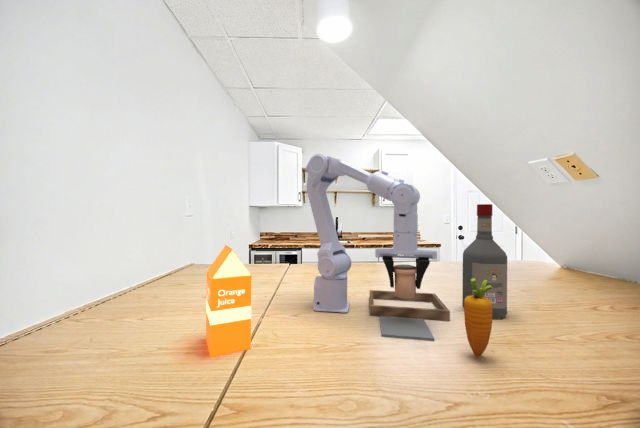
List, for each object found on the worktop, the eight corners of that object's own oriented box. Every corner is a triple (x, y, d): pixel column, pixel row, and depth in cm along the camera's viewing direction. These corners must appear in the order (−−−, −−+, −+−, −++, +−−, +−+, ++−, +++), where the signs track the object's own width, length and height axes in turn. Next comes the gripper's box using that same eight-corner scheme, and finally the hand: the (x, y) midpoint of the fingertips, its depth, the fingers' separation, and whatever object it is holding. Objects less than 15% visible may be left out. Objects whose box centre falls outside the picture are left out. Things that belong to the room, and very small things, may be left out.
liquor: (511, 319, 71) (512, 204, 71) (475, 319, 71) (476, 203, 71) (491, 307, 80) (491, 205, 80) (459, 307, 80) (459, 205, 81)
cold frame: (369, 315, 73) (369, 305, 73) (369, 297, 89) (369, 289, 89) (449, 321, 70) (449, 311, 70) (434, 301, 86) (434, 293, 86)
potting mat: (381, 336, 61) (381, 334, 61) (379, 318, 71) (379, 316, 71) (434, 340, 59) (434, 338, 59) (424, 321, 69) (424, 319, 69)
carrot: (484, 351, 54) (485, 275, 54) (498, 364, 49) (499, 281, 49) (458, 349, 55) (459, 274, 55) (469, 363, 50) (470, 280, 50)
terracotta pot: (394, 298, 66) (393, 269, 66) (392, 290, 72) (391, 263, 72) (419, 299, 65) (419, 269, 65) (415, 291, 71) (415, 264, 71)
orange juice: (209, 357, 51) (210, 250, 51) (205, 338, 59) (206, 245, 59) (251, 348, 55) (252, 248, 55) (242, 331, 62) (243, 243, 62)
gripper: (432, 232, 71) (431, 284, 71) (375, 231, 73) (374, 281, 73) (439, 233, 64) (438, 292, 64) (376, 232, 66) (375, 288, 66)
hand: (404, 287), depth 68 cm, fingers closed on terracotta pot, 6 cm apart
